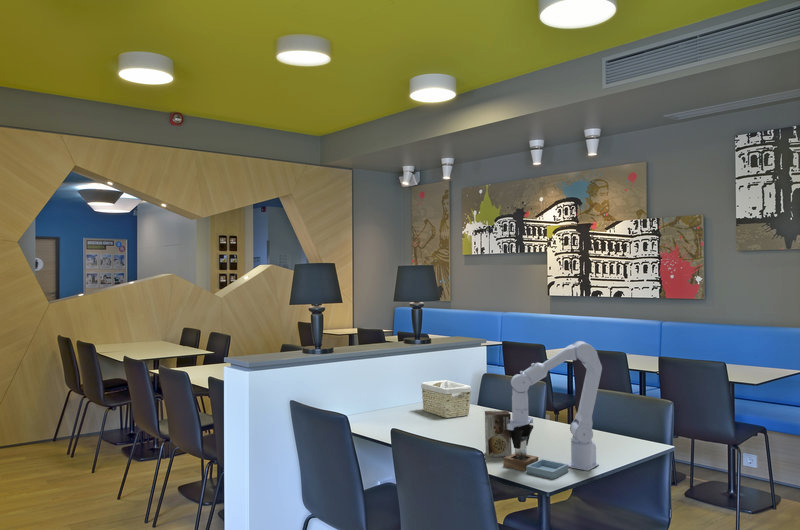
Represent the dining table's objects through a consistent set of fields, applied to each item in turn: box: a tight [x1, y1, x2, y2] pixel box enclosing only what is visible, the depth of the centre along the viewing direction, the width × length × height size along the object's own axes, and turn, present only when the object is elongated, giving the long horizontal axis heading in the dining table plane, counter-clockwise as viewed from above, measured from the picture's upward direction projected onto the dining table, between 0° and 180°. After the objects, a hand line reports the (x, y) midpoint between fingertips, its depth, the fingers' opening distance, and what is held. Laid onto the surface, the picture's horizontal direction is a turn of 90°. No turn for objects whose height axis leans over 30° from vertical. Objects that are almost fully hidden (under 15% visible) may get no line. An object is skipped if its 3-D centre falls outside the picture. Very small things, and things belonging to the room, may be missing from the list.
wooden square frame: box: [502, 452, 539, 472], centre depth 223 cm, size 9×9×3 cm
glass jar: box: [514, 434, 528, 460], centre depth 223 cm, size 5×5×9 cm
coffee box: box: [484, 410, 513, 458], centre depth 238 cm, size 9×6×16 cm
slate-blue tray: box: [525, 458, 569, 480], centre depth 215 cm, size 11×10×2 cm
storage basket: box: [420, 379, 472, 419], centre depth 312 cm, size 24×16×15 cm
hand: (520, 446), depth 223 cm, fingers closed on glass jar, 5 cm apart
